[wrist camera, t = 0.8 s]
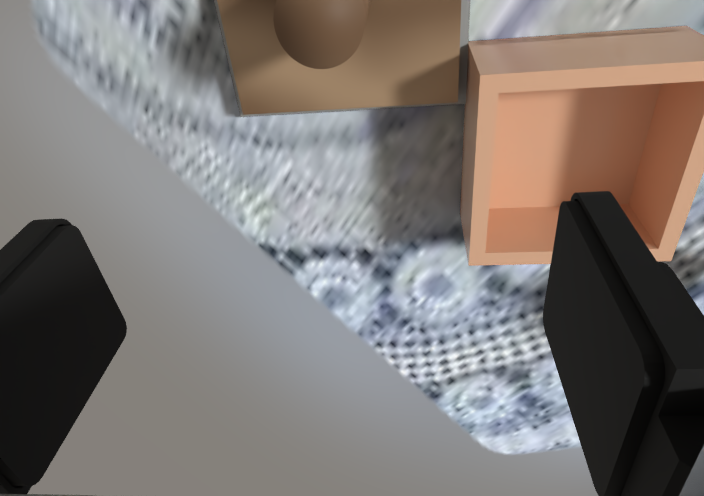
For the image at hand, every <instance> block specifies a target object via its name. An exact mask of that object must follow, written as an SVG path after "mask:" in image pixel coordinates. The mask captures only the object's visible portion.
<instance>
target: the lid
mask: <svg viewBox="0 0 704 496" xmlns="http://www.w3.org/2000/svg"><path fill="white" fill-rule="evenodd" d="M217 2H218V6H219V11H220V15H221V20H222V24H223V28H224V33H225V37H226V42H227V46H228V50H229V55H230V59H231V64H232V68H233V73H234V77H235V81H236V86H237V90H238V95H239V99H240V103H241V108H242V112H243V115H247V114H265V113H282V112H299V111H317V110H334V109H351V108H369V107H386V106H403V105H421V104H438V103H455V102H458V83H459V55H460V26H461V0H217Z"/></svg>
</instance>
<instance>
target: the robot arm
mask: <svg viewBox="0 0 704 496" xmlns="http://www.w3.org/2000/svg"><path fill="white" fill-rule="evenodd" d="M543 322H544V329H545V332H546V336H547V339H548V342H549V345H550V348H551V351H552V355H553V358H554V361H555V364H556V367H557V370H558V373H559V377H560V380H561V383H562V386H563V389H564V392H565V395H566V399H567V402H568V405H569V408H570V411H571V414H572V418H573V421H574V424H575V427H576V430H577V433H578V436H579V440H580V443H581V446H582V449H583V452H584V455H585V458H586V461H587V465H588V468H589V471H590V473H591V477H592V481H593V484H594V487H595V489H596V491H597V493H598V495H599V496H704V315H703V314H702V312H701V311H700V310H699V308H698V307H697V305H696V304H695V302H694V301H693V299H692V298H691V296H690V295H689V294H688V292H687V291H686V289H685V288H684V286H683V285H682V283H681V282H680V280H679V279H678V278H677V276H676V275H675V273H674V272H673V270H672V269H671V268H670V267H669V266H668V265H667V264H665V263H662V262H657V261H656V259H655V258H654V256H653V255H652V253H651V252H650V250H649V249H648V247H647V246H646V244H645V243H644V241H643V240H642V238H641V237H640V235H639V234H638V232H637V231H636V229H635V228H634V226H633V225H632V223H631V222H630V220H629V219H628V217H627V215H626V214H625V212H624V211H623V209H622V208H621V206H620V205H619V203H618V202H617V200H616V199H615V197H614V196H613V194H612V193H611V192H610V191H597V192H577V193H574V194H573V195H572V197H571V201H563V202H562V203H561V205H560V209H559V215H558V221H557V227H556V234H555V240H554V247H553V253H552V259H551V266H550V272H549V279H548V285H547V291H546V298H545V304H544V311H543ZM126 329H127V327H126V322H125V319H124V317H123V315H122V313H121V311H120V309H119V307H118V305H117V303H116V302H115V300H114V298H113V295H112V294H111V292H110V290H109V288H108V286H107V284H106V282H105V280H104V278H103V276H102V274H101V272H100V270H99V268H98V266H97V264H96V262H95V260H94V258H93V256H92V254H91V252H90V250H89V248H88V246H87V244H86V242H85V240H84V238H83V236H82V234H81V232H80V231H79V229H78V228H77V227H75V226H73V225H71V223H70V222H68V221H67V220H65V219H44V220H33V221H32V222H30V223H29V224H27V225H26V226H25V227H24V228H23V229H22V230H21V231H20V232H19V233H18V234H17V235H16V236H15V237H14V238H13V239H12V240H10V241H9V242H8V243H7V244H6V245H5V246H4V247H3V248H2V249H1V250H0V496H93V495H37V494H27V493H28V491H29V490H30V488H31V486H33V485H35V484H36V483H37V482H39V481H40V479H41V478H42V477H43V475H44V473H45V472H46V470H47V468H48V466H49V465H50V463H51V461H52V460H53V458H54V456H55V455H56V453H57V451H58V449H59V448H60V446H61V444H62V443H63V441H64V440H65V438H66V436H67V435H68V433H69V431H70V429H71V428H72V426H73V424H74V423H75V421H76V419H77V418H78V416H79V414H80V413H81V411H82V409H83V408H84V406H85V404H86V402H87V401H88V399H89V397H90V396H91V394H92V392H93V391H94V389H95V387H96V385H97V384H98V382H99V381H100V379H101V377H102V376H103V374H104V372H105V371H106V369H107V367H108V365H109V364H110V362H111V360H112V359H113V357H114V355H115V354H116V352H117V350H118V348H119V347H120V345H121V343H122V342H123V340H124V338H125V336H126Z"/></svg>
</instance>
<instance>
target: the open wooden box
mask: <svg viewBox="0 0 704 496" xmlns="http://www.w3.org/2000/svg"><path fill="white" fill-rule="evenodd" d="M703 172H704V35H702V34H700V33H699V32H697V31H695V30H693V29H692V28H690V27H688V26H676V27H662V28H648V29H634V30H620V31H606V32H592V33H578V34H564V35H550V36H536V37H522V38H508V39H494V40H479V41H468V62H467V85H466V104H465V109H464V132H463V155H462V178H461V201H460V217H461V223H462V229H463V235H464V240H465V246H466V252H467V258H468V264H469V265H515V264H551V259H552V253H553V247H554V240H555V234H556V227H557V221H558V215H559V209H560V205H561V203H562V202H563V201H571V197H572V195H573V194H574V193H577V192H597V191H610V192H611V193H612V194H613V196H614V197H615V199H616V200H617V202H618V203H619V205H620V206H621V208H622V209H623V211H624V212H625V214H626V215H627V217H628V219H629V220H630V222H631V223H632V225H633V226H634V228H635V229H636V231H637V232H638V234H639V235H640V237H641V238H642V240H643V241H644V243H645V244H646V246H647V247H648V249H649V250H650V252H651V253H652V255H653V256H654V258H655V259H656V261H671V260H672V258H673V255H674V252H675V249H676V247H677V244H678V241H679V238H680V235H681V233H682V230H683V227H684V224H685V222H686V219H687V216H688V213H689V211H690V208H691V205H692V202H693V199H694V197H695V194H696V191H697V188H698V186H699V183H700V180H701V177H702V175H703Z"/></svg>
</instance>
